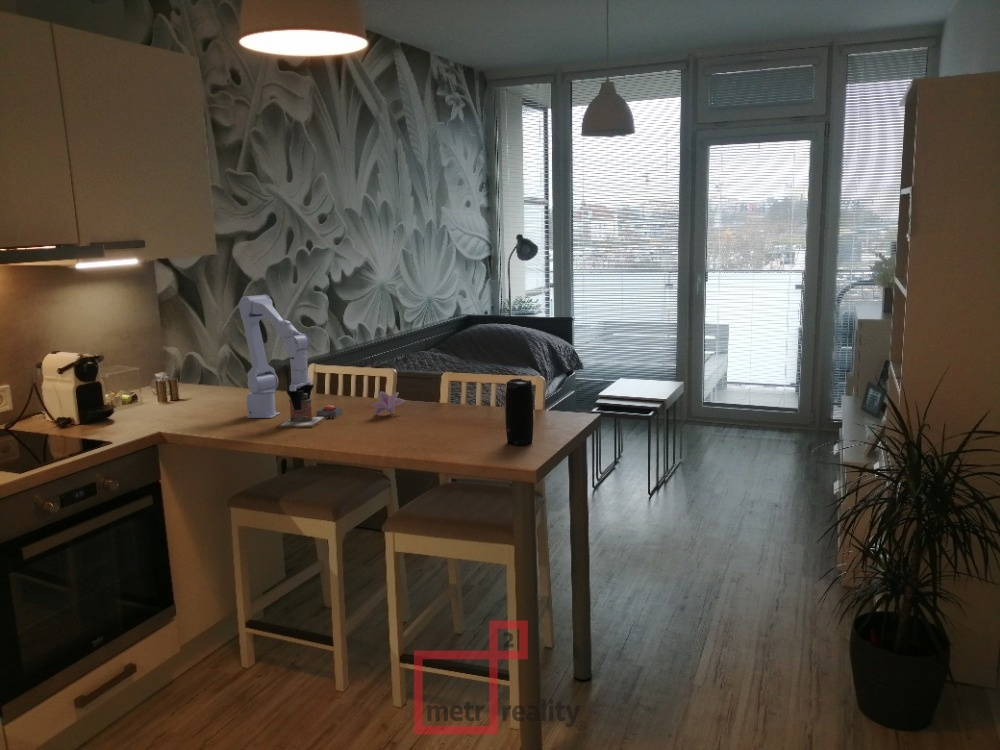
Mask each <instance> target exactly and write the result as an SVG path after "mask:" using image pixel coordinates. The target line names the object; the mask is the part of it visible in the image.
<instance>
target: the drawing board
mask: <svg viewBox="0 0 1000 750" xmlns="http://www.w3.org/2000/svg"><path fill="white" fill-rule="evenodd" d="M327 417H328V416H317V415H316V416H315V415H312V418H313V421H304V422H303V421H291V420H290V418H291V417H288V418H287V419H285V420H283V422H280V423H279V424H277V425H276V427H314V426H315V425H317V424H318V423H319V422H321V421H322V420H324V419H326V418H327ZM327 419H328V418H327ZM327 419H326V420H327ZM324 421H325V420H324ZM321 423H322V422H321ZM318 425H319V424H318ZM318 425H317V426H318ZM315 427H316V426H315ZM315 427H314V428H315Z"/></svg>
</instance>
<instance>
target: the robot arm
mask: <svg viewBox="0 0 1000 750" xmlns="http://www.w3.org/2000/svg"><path fill="white" fill-rule="evenodd" d="M237 306H238V308H239V313H240V317H241V320H242V324H243V328H244V329H243V330H244V334H245V338H246V342H247V347H248V352H249V356H250V362H251V368H250V370H249V371H248V372H246V375H247V387H248V390H249V391H250V392H248V394H247V395H246V413H247V416H246V418H247V419H272V418H274V417H275V416H277V415H280V414H281V412H279V411H276V400H275V392H276V391H277V390H276V389H277V388H278V386H279V378H278V376H277V374H276V371H275V368H274V367H273V366H270V364H268V360H267V356H266V355H267V354H266V349H265V345H264V341H263V336H262V332H261V327H260V321H261V319H262V318H264V317H265V318H266V319H267V320H268V321H269V322H270V323H271V324H272V325H274V327H275V333H277V335H279V337H280V338H281V339H282V340H283V341H284V342H285V348H286V350H287V352H288V354H287V355H288V357H289V358H290V359H289V362H290V363H289V364H290V377H291V382H290V385H289V389H287V390H286V394H287V395H288V396H289V399H291V401H292V404H293V407H294V410H301V403H302V396H303V393H308V398H307V399H311V394H312V391H313V390H314V389H313V388H314V384H312V383H313V381H311V378H310V377H309V370H308V369H309V368H308V353H307V351H308V350H309V349H310V346H311V341H310V338H309V336H308V335H307V334H306V333H301V332H299V331H298V330H297V329H296V328H295V326H294V325H293V324H292V322H291V321H289V320H286V319H285V320H284V319H283V318H282V316H281V315H280V314H279V312H278V311H277V310H276V309H275V307H274V306H273V300H272V299H271V298H270V296H269V295H267V294H265V293H264V294H261V295H260V294H259V295H249V296H247V295H244V296H243V295H242V297H241V298H240V300H239V302H238V305H237Z"/></svg>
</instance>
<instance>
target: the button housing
mask: <svg viewBox="0 0 1000 750" xmlns="http://www.w3.org/2000/svg"><path fill="white" fill-rule="evenodd" d="M342 410H343V407H341V406H334V410H333V411H330V410H324V406H322V407H321V408H320V409H318V410H316V416H328V417H337V416H338V417H340V416H341V415H342V414H343V411H342ZM340 414H341V415H340ZM339 415H340V416H339ZM338 417H337V418H338Z"/></svg>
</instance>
